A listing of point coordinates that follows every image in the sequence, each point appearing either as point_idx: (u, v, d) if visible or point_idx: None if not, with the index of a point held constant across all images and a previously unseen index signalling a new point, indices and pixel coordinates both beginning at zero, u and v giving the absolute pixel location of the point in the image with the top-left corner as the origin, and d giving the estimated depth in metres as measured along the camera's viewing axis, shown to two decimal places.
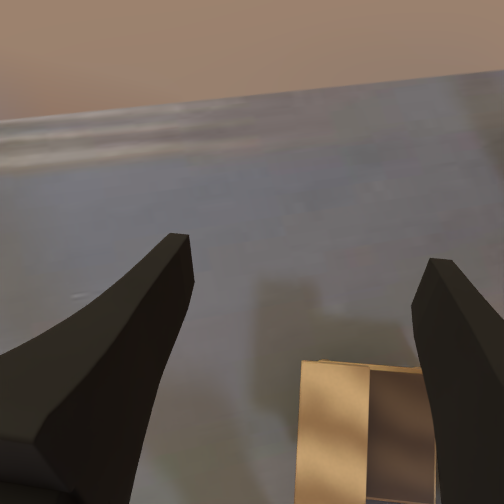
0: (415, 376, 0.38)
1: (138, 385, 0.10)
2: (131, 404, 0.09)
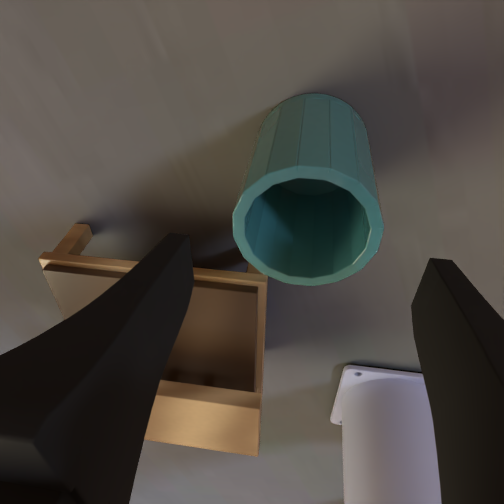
0: (56, 294, 0.22)
1: (138, 385, 0.10)
2: (131, 404, 0.09)
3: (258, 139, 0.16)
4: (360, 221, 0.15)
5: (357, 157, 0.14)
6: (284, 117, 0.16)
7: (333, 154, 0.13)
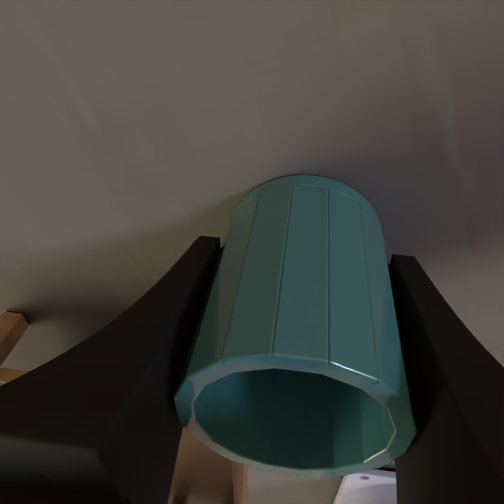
0: None
1: None
2: (171, 410, 0.09)
3: (224, 249, 0.11)
4: None
5: (373, 311, 0.08)
6: (261, 220, 0.11)
7: (334, 321, 0.08)
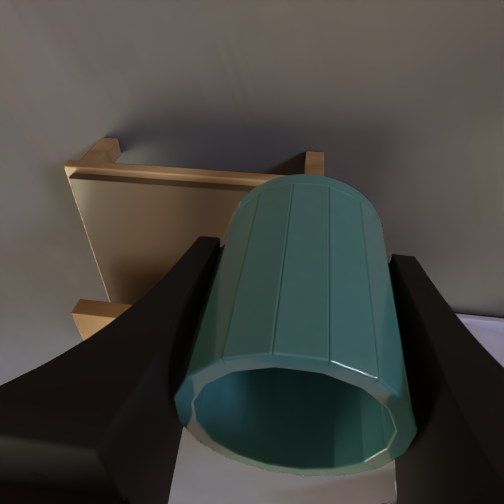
0: (83, 211, 0.19)
1: None
2: (171, 410, 0.09)
3: (224, 248, 0.11)
4: None
5: (373, 310, 0.08)
6: (261, 219, 0.11)
7: (335, 320, 0.08)
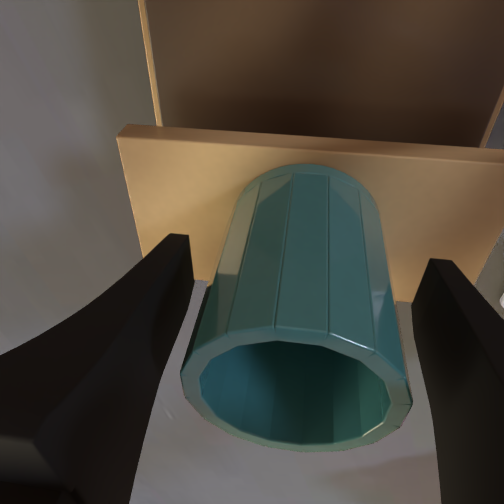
0: None
1: (138, 385, 0.10)
2: (131, 404, 0.09)
3: (227, 234, 0.11)
4: None
5: (370, 289, 0.09)
6: (263, 206, 0.11)
7: (333, 297, 0.08)
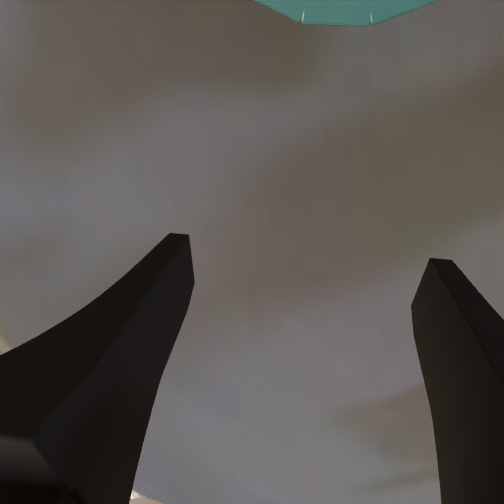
0: None
1: (138, 385, 0.10)
2: (131, 404, 0.09)
3: None
4: None
5: None
6: None
7: None
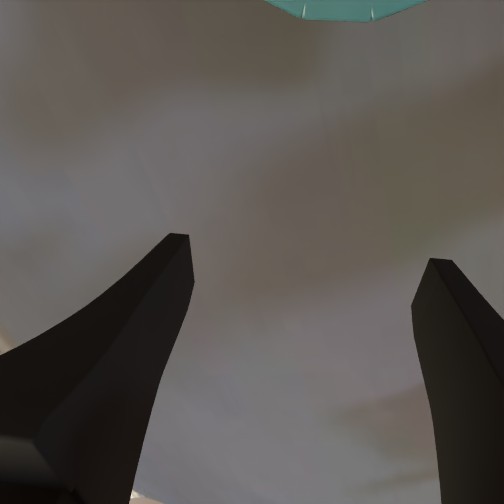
0: None
1: (138, 385, 0.10)
2: (131, 404, 0.09)
3: None
4: None
5: None
6: None
7: None
